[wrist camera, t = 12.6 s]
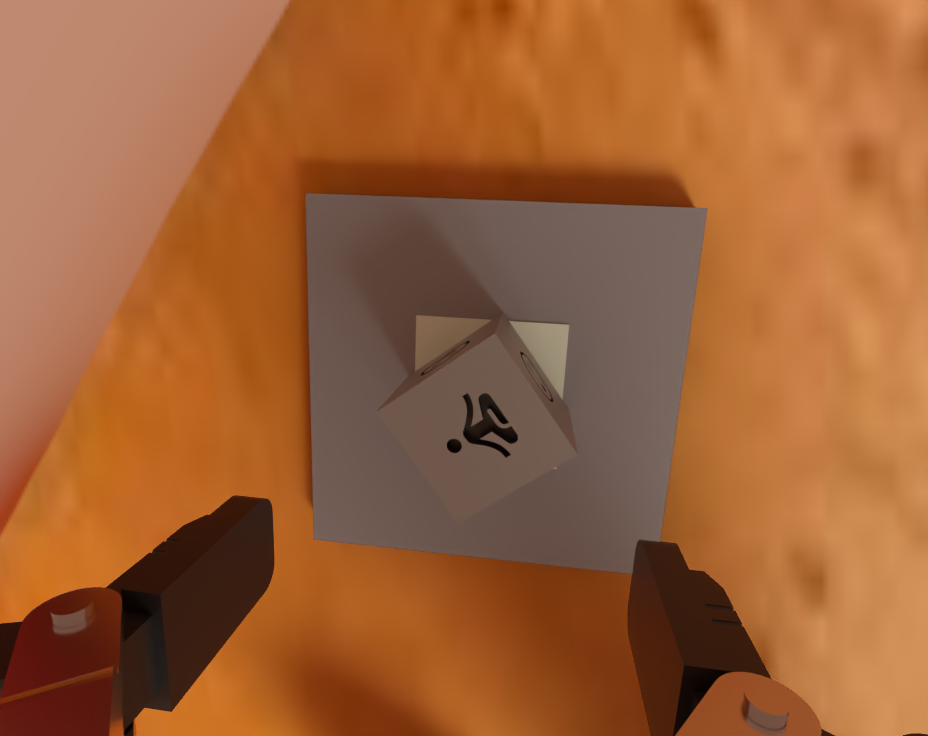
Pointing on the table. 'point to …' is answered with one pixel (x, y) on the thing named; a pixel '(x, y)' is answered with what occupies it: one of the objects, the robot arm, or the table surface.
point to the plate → (545, 335)
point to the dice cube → (481, 420)
